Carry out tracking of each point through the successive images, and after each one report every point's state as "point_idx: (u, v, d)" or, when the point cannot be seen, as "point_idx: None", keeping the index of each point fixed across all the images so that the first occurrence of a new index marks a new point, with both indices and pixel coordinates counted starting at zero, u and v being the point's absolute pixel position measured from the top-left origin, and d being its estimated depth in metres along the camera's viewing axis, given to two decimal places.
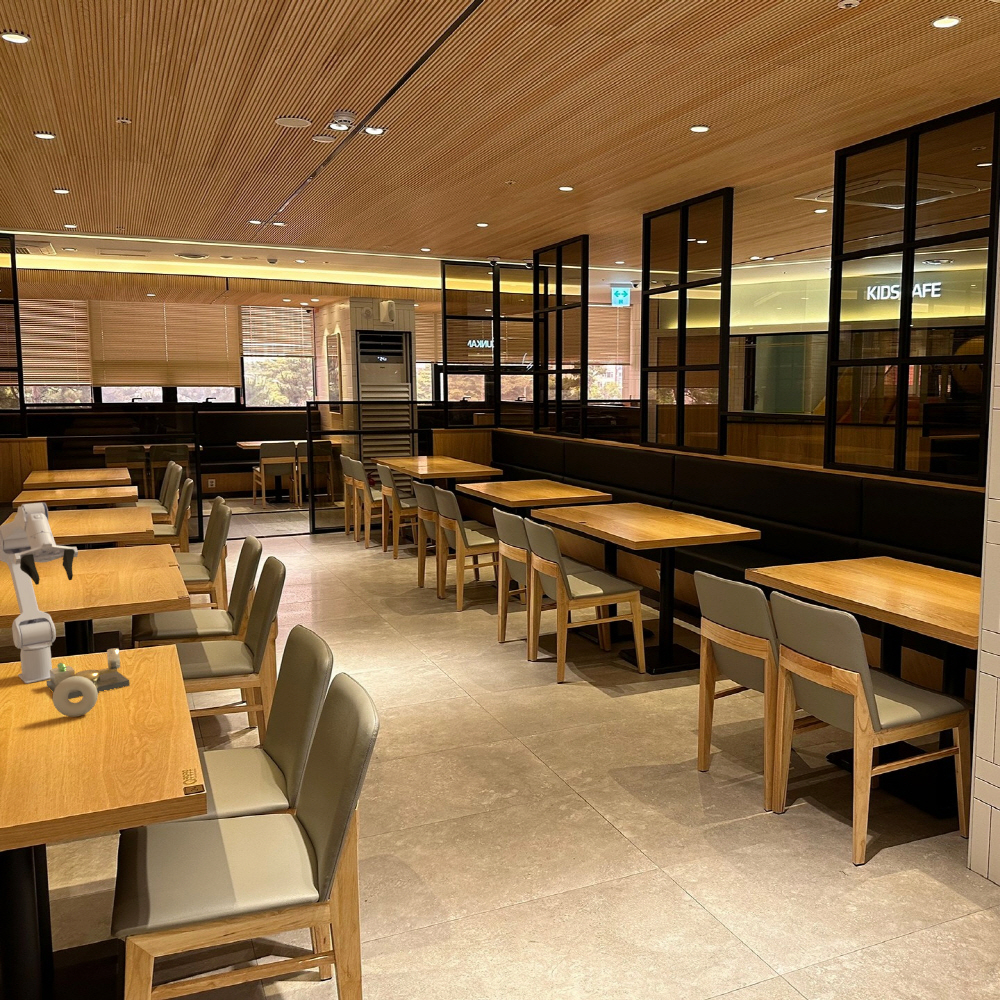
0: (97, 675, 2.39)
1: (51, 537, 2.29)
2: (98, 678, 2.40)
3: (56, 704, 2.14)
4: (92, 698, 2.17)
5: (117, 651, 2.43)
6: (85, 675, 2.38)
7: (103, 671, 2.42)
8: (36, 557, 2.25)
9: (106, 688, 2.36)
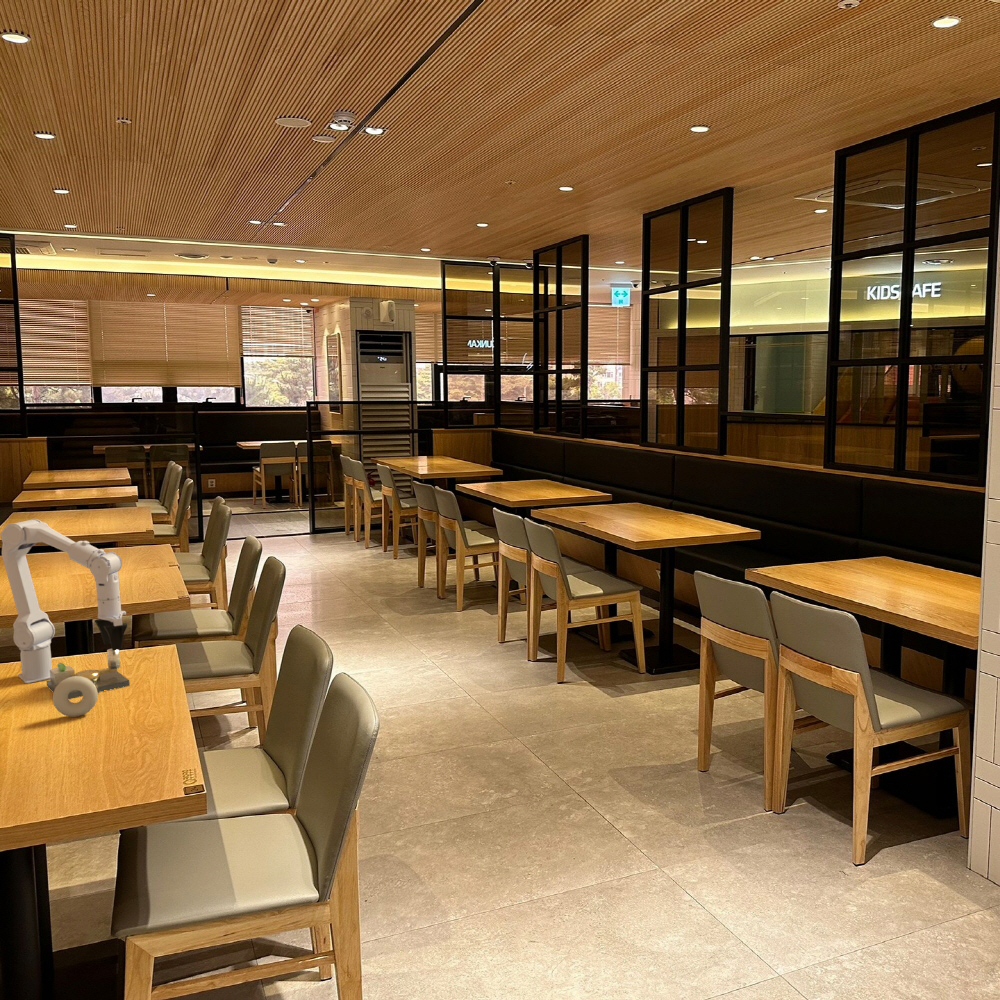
0: (97, 675, 2.39)
1: None
2: (98, 678, 2.40)
3: (56, 704, 2.14)
4: (92, 698, 2.17)
5: (117, 651, 2.43)
6: (85, 675, 2.38)
7: (103, 671, 2.42)
8: None
9: (106, 688, 2.36)
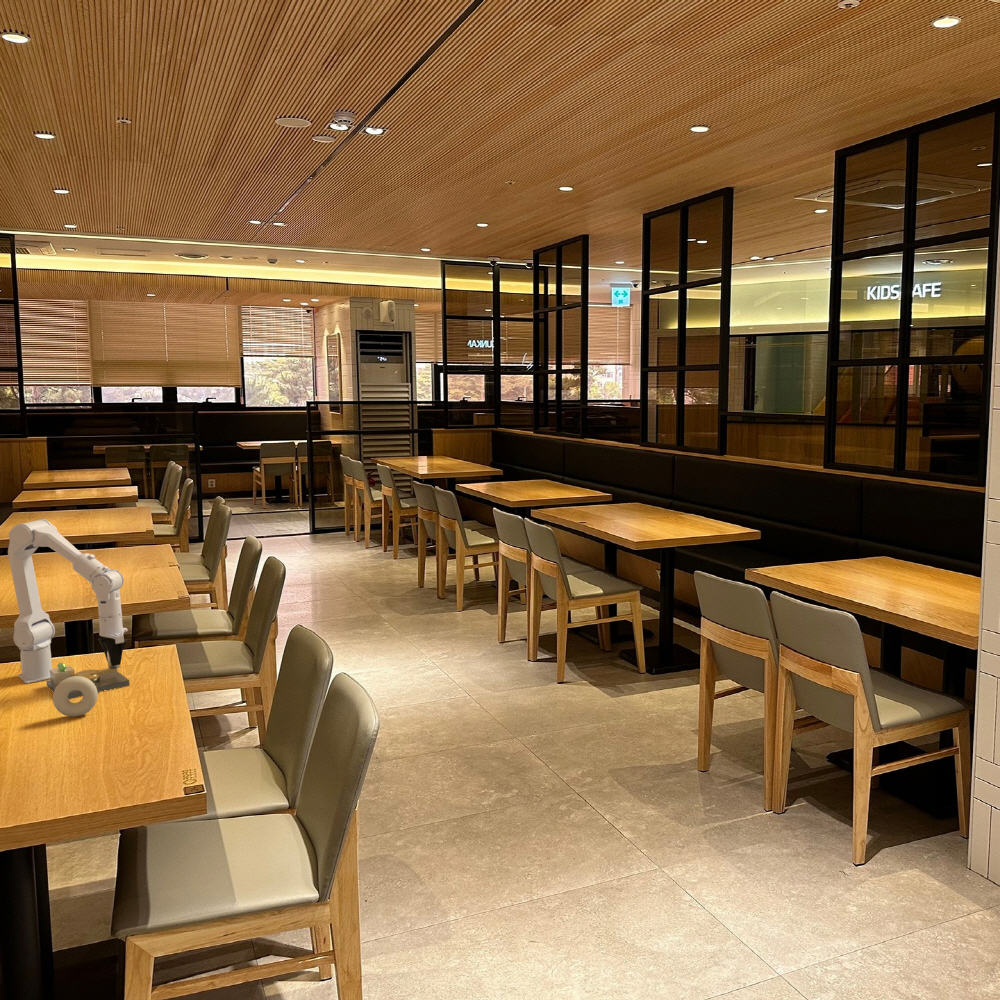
0: (97, 675, 2.39)
1: None
2: (98, 678, 2.40)
3: (56, 704, 2.14)
4: (92, 698, 2.17)
5: None
6: (85, 675, 2.38)
7: (103, 671, 2.42)
8: None
9: (106, 688, 2.36)
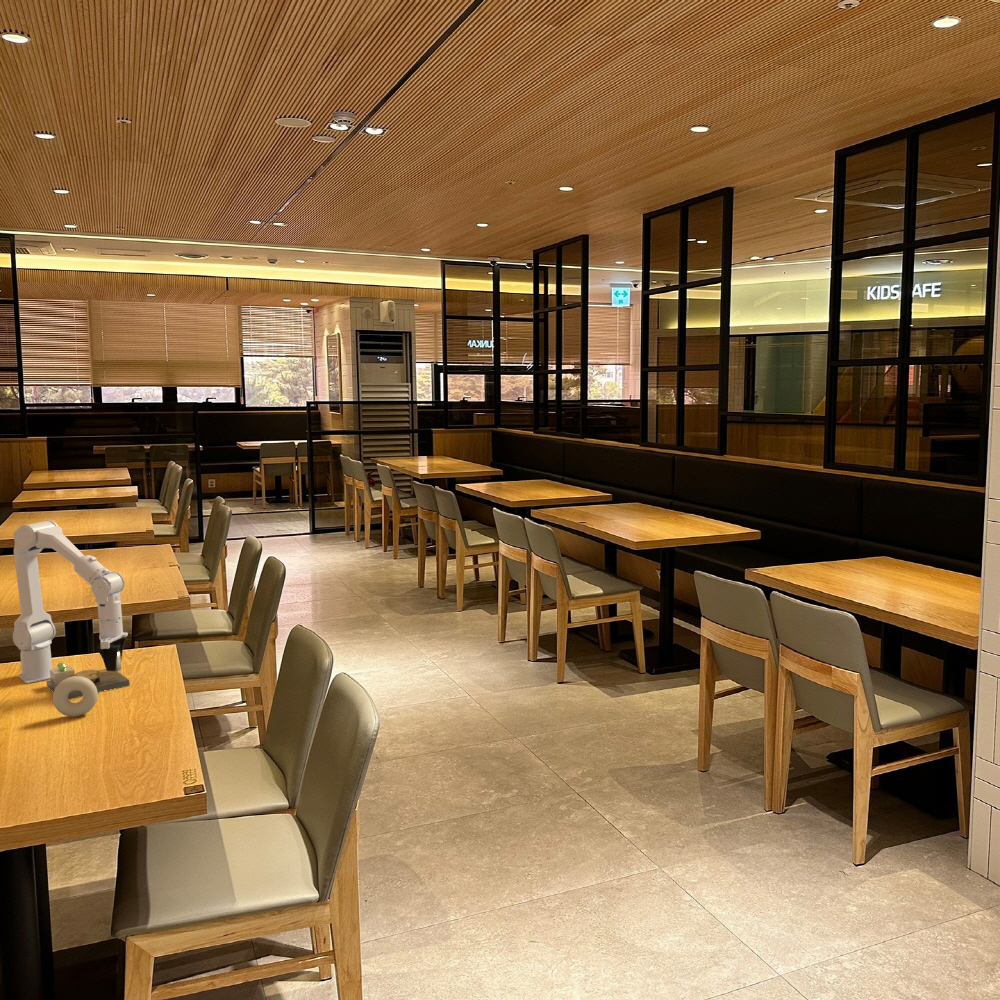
0: (94, 676, 2.38)
1: None
2: (96, 679, 2.39)
3: (56, 704, 2.14)
4: (92, 698, 2.17)
5: (117, 654, 2.41)
6: (82, 675, 2.38)
7: (103, 672, 2.40)
8: (111, 642, 2.38)
9: (106, 688, 2.36)
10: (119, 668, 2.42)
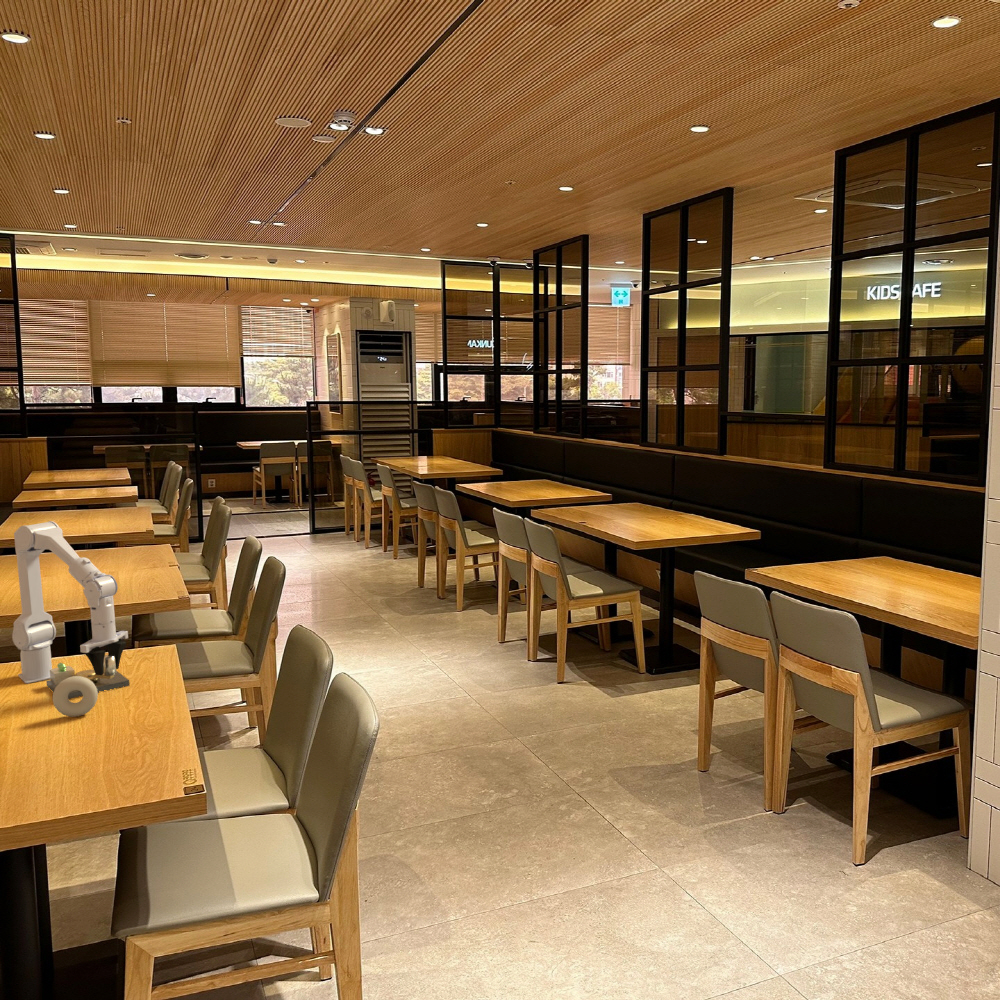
0: (88, 678, 2.37)
1: None
2: (90, 680, 2.38)
3: (56, 704, 2.14)
4: (92, 698, 2.17)
5: (108, 658, 2.36)
6: (80, 674, 2.38)
7: (98, 675, 2.38)
8: (98, 646, 2.34)
9: (106, 688, 2.36)
10: (111, 673, 2.37)
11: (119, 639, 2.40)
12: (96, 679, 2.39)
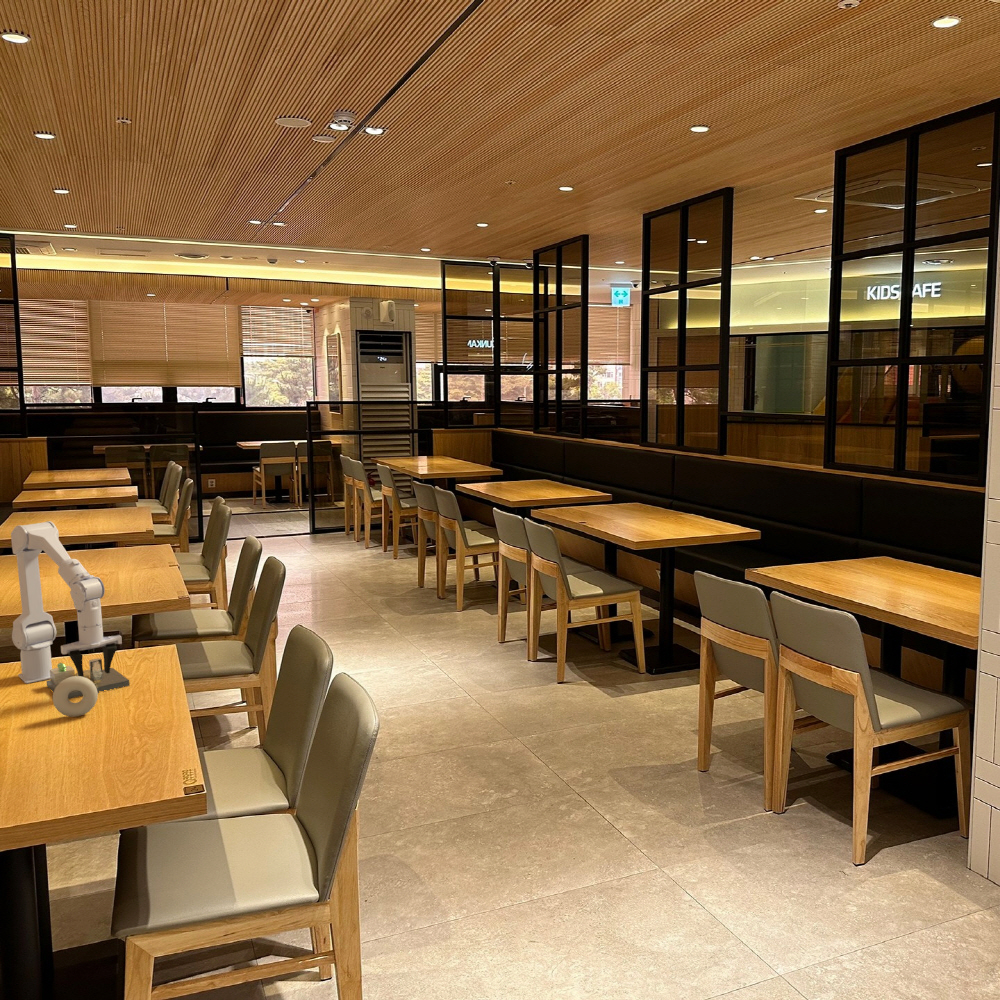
0: None
1: (100, 630, 2.32)
2: None
3: (56, 704, 2.14)
4: (92, 698, 2.17)
5: (91, 663, 2.33)
6: None
7: (89, 677, 2.36)
8: (82, 649, 2.31)
9: (106, 688, 2.36)
10: (94, 678, 2.33)
11: (110, 644, 2.35)
12: None
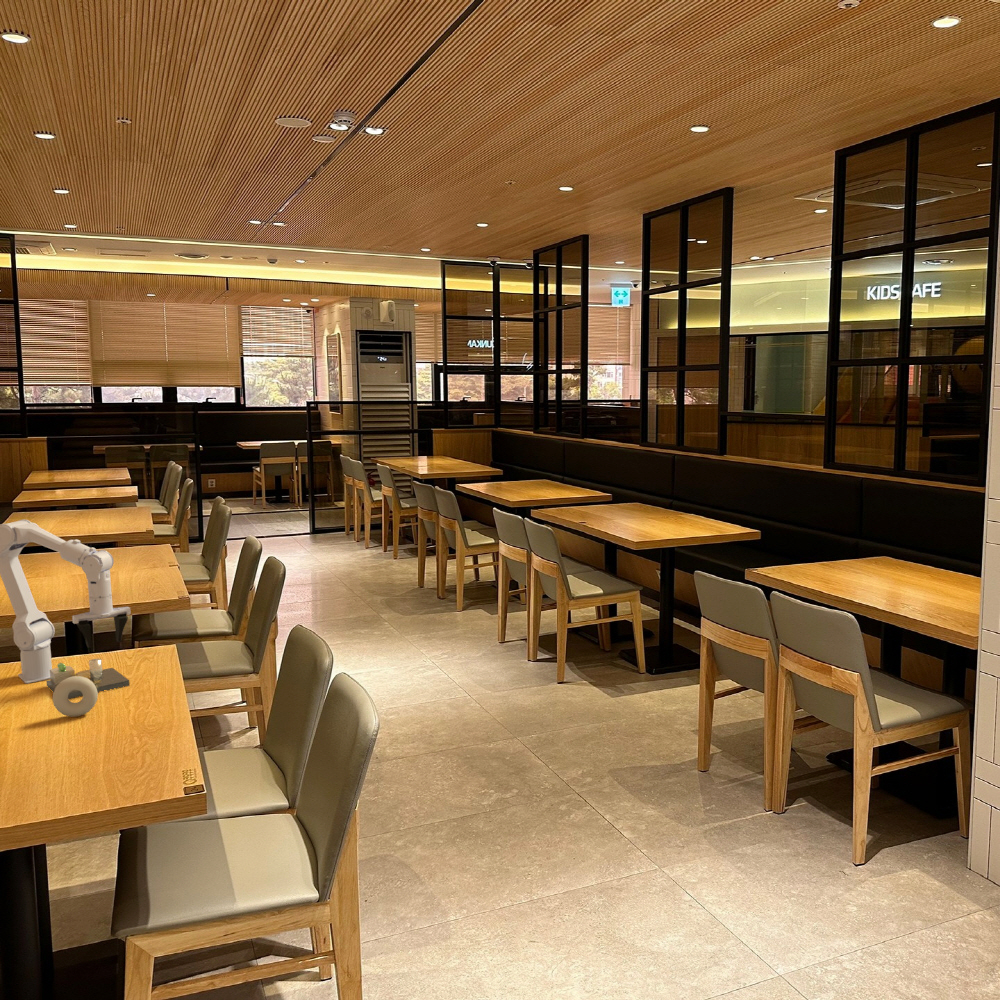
0: None
1: (110, 601, 2.42)
2: None
3: (56, 704, 2.14)
4: (92, 698, 2.17)
5: (91, 663, 2.33)
6: (80, 673, 2.39)
7: (89, 677, 2.36)
8: (92, 619, 2.42)
9: (106, 688, 2.36)
10: (94, 678, 2.33)
11: (119, 614, 2.46)
12: None
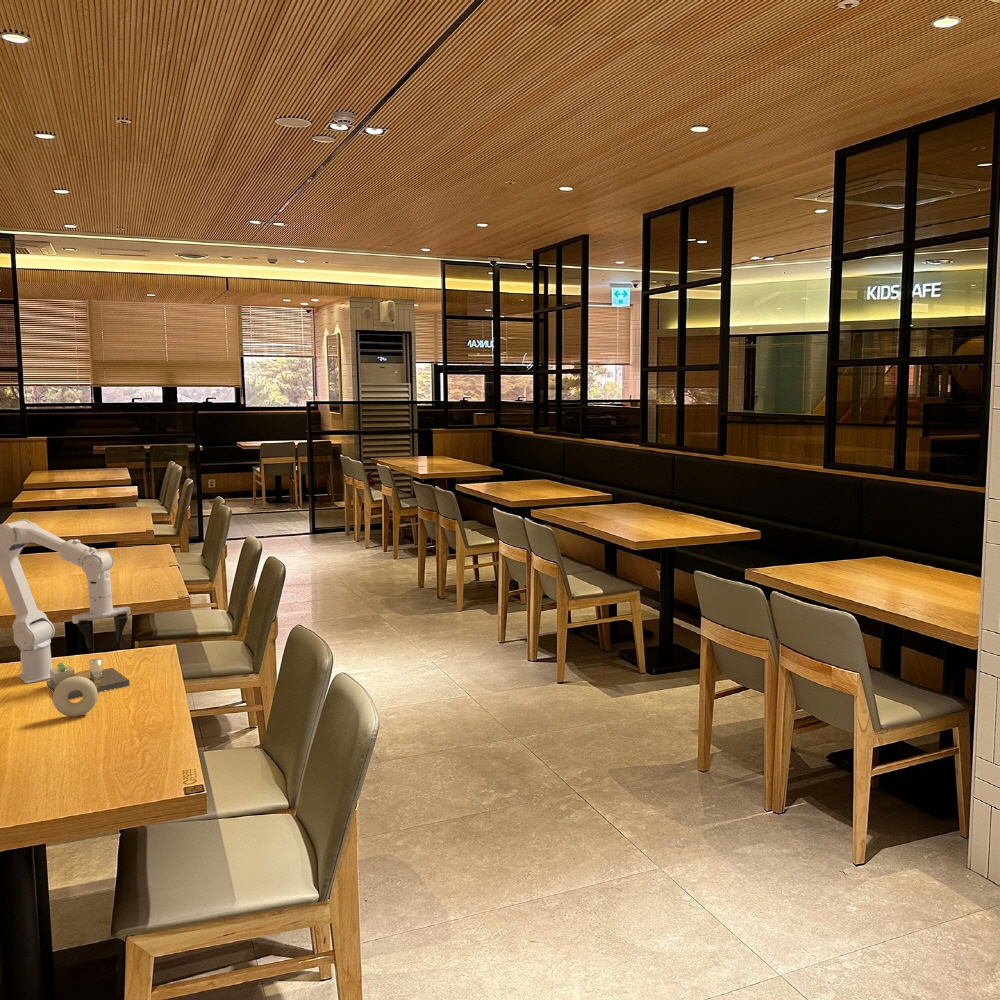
0: None
1: (110, 601, 2.42)
2: None
3: (56, 704, 2.14)
4: (93, 698, 2.17)
5: (91, 663, 2.33)
6: (80, 673, 2.39)
7: (89, 677, 2.36)
8: (92, 619, 2.42)
9: (106, 688, 2.36)
10: (94, 678, 2.33)
11: (119, 614, 2.46)
12: None
